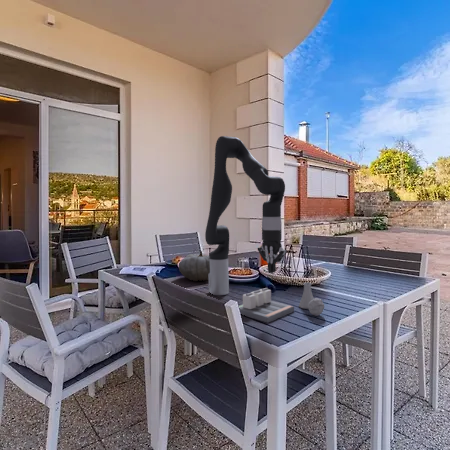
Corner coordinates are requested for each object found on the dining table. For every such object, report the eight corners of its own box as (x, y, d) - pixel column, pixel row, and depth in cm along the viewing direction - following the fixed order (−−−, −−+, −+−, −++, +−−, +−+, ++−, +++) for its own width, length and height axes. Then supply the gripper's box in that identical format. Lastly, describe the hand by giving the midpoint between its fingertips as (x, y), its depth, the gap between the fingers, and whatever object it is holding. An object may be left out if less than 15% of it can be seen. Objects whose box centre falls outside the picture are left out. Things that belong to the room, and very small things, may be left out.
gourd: (186, 282, 171) (186, 249, 174) (171, 280, 193) (172, 251, 196) (228, 281, 182) (227, 250, 185) (209, 279, 204) (209, 252, 207)
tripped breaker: (251, 304, 133) (250, 290, 132) (256, 302, 135) (255, 289, 134) (258, 306, 130) (258, 292, 129) (263, 304, 132) (263, 291, 132)
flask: (319, 306, 135) (319, 283, 135) (311, 311, 130) (311, 286, 129) (303, 303, 140) (303, 280, 139) (295, 307, 135) (295, 283, 134)
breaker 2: (258, 301, 136) (258, 288, 136) (263, 299, 138) (263, 287, 138) (266, 303, 133) (266, 290, 133) (271, 301, 135) (270, 288, 135)
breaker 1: (242, 307, 129) (242, 293, 129) (248, 305, 131) (247, 291, 131) (250, 309, 126) (250, 295, 126) (255, 307, 128) (255, 293, 128)
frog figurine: (312, 319, 120) (312, 301, 120) (304, 313, 127) (304, 295, 127) (327, 318, 122) (327, 299, 121) (319, 312, 128) (319, 294, 128)
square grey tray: (234, 312, 130) (234, 307, 130) (261, 302, 142) (261, 298, 142) (267, 322, 118) (267, 317, 118) (294, 311, 130) (294, 306, 130)
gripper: (252, 228, 127) (252, 271, 128) (279, 230, 117) (279, 276, 119) (264, 226, 132) (264, 268, 133) (291, 228, 123) (291, 273, 124)
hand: (271, 272), depth 126 cm, fingers closed
